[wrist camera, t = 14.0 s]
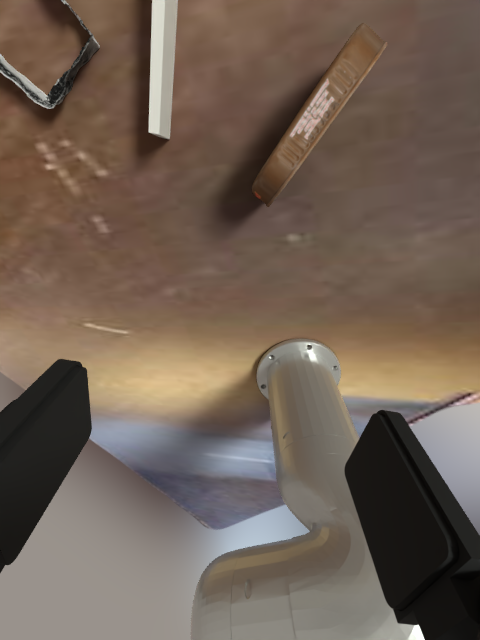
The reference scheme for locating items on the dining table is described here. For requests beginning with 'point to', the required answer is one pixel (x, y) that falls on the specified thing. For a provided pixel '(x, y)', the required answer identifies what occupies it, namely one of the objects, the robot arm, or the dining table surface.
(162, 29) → the box
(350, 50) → the tin
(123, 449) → the dining table surface
